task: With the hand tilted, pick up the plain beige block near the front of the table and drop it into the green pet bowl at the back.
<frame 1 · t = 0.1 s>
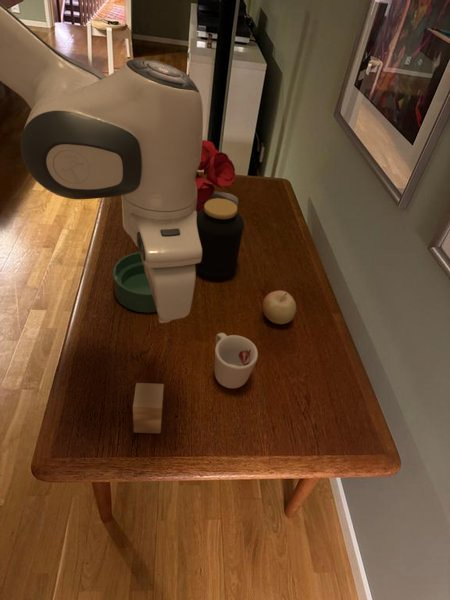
hand: (157, 296, 58), 24 cm above the table, tool pointing down, fingers open, 8 cm apart
plain beige block: (148, 421, 69), on the table
container: (213, 268, 103), on the table
green pet bowl: (147, 291, 93), on the table
fruit: (275, 318, 93), on the table
cup: (227, 372, 80), on the table
bouquet: (192, 218, 120), on the table
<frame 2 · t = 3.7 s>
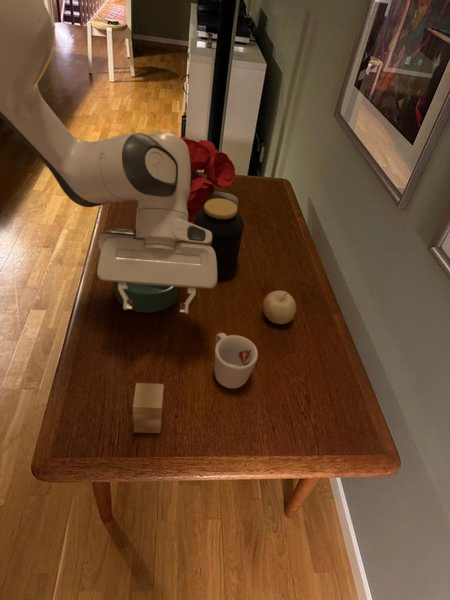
hand: (156, 311, 69), 15 cm above the table, tool tilted 45°, fingers open, 8 cm apart
nothing on the table moved.
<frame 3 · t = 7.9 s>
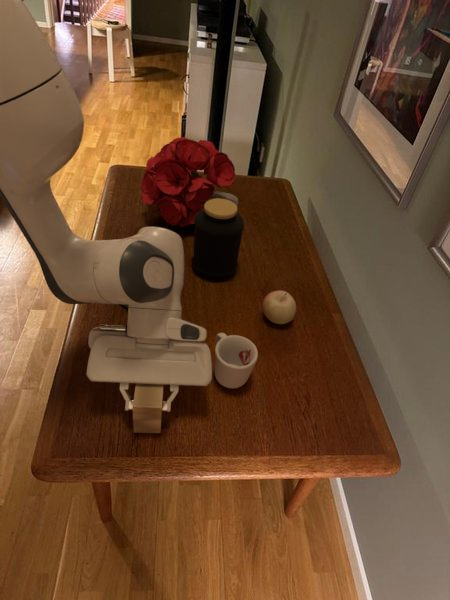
hand: (148, 410, 66), 4 cm above the table, tool tilted 45°, fingers closed on plain beige block, 4 cm apart
plain beige block: (148, 421, 69), on the table, touching gripper
everything else where it was.
when the fingers open (10 cm above the table, at t = 17.8 s): plain beige block drops 4 cm and tips over, resting on green pet bowl.
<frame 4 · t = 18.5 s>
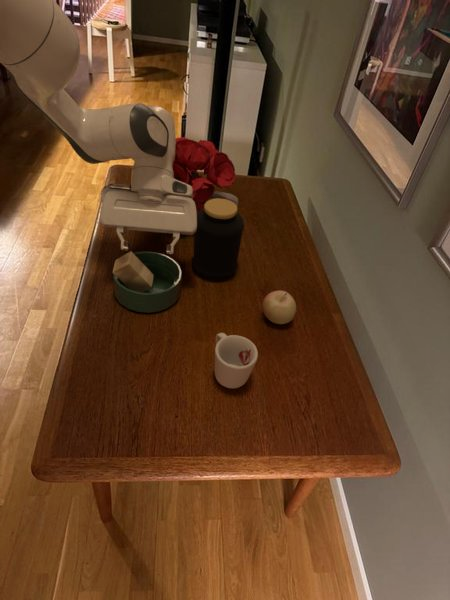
hand: (147, 251, 85), 12 cm above the table, tool tilted 45°, fingers open, 8 cm apart
plain beige block: (145, 285, 92), point 2 cm above the table, tilted 38°, touching green pet bowl
everything else where it was.
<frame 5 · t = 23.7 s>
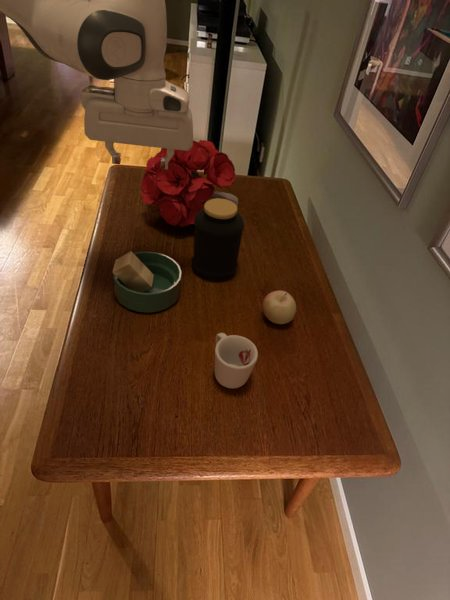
hand: (140, 165, 81), 27 cm above the table, tool pointing down, fingers open, 8 cm apart
nothing on the table moved.
at the end: plain beige block inside the target area in the green pet bowl (0.6 cm from its centre), point 2.0 cm above the green pet bowl's base; the gripper is holding nothing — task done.
